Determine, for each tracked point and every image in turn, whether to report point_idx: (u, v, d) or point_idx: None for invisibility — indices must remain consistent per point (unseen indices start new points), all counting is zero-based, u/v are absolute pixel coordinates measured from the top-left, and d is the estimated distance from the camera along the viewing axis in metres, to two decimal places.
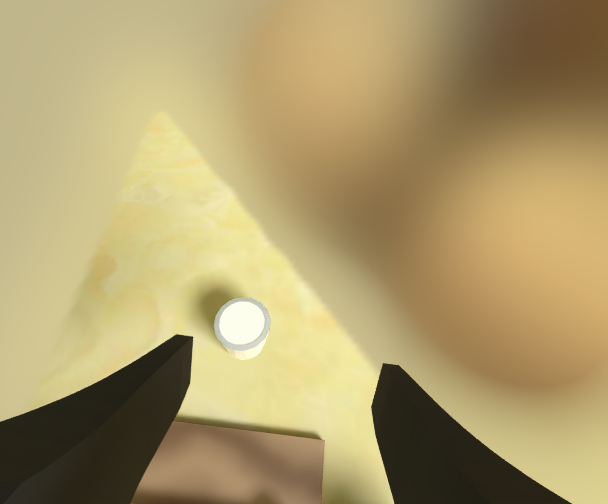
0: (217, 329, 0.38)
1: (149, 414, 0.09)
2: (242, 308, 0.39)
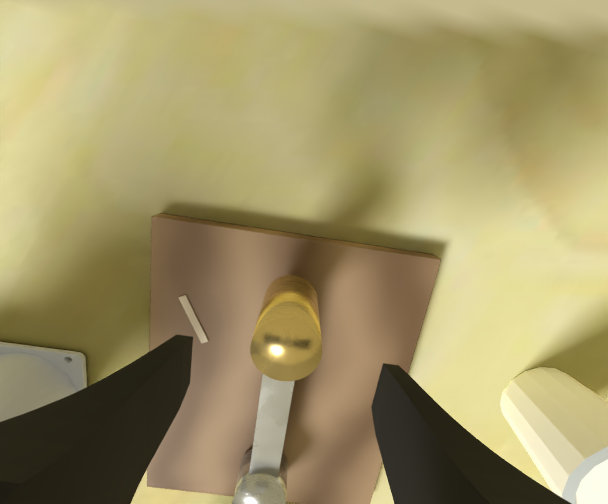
0: None
1: (149, 414, 0.09)
2: None
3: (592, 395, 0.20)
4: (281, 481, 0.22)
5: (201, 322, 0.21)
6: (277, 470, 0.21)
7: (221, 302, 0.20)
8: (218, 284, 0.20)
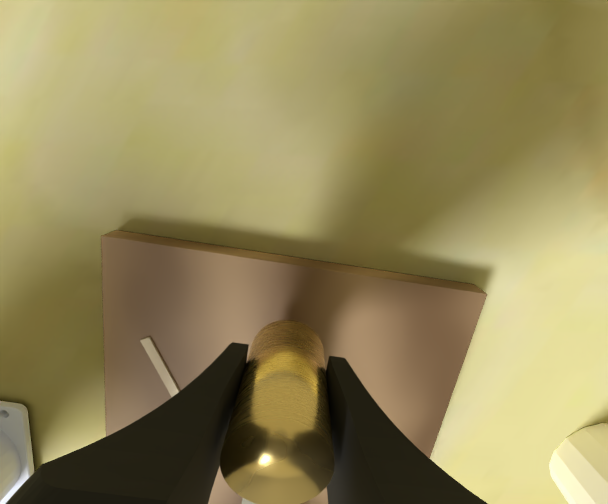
0: None
1: (222, 423, 0.09)
2: None
3: None
4: None
5: (171, 371, 0.16)
6: None
7: (197, 346, 0.16)
8: (192, 323, 0.15)
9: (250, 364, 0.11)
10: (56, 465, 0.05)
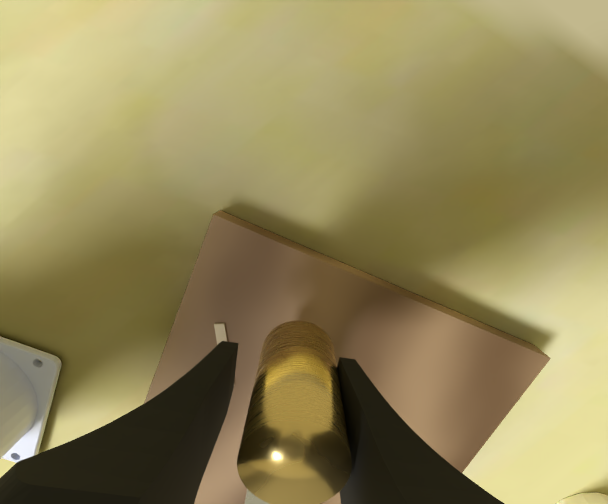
0: None
1: (209, 422, 0.09)
2: None
3: None
4: None
5: None
6: None
7: None
8: (271, 320, 0.15)
9: (264, 364, 0.11)
10: (31, 462, 0.05)
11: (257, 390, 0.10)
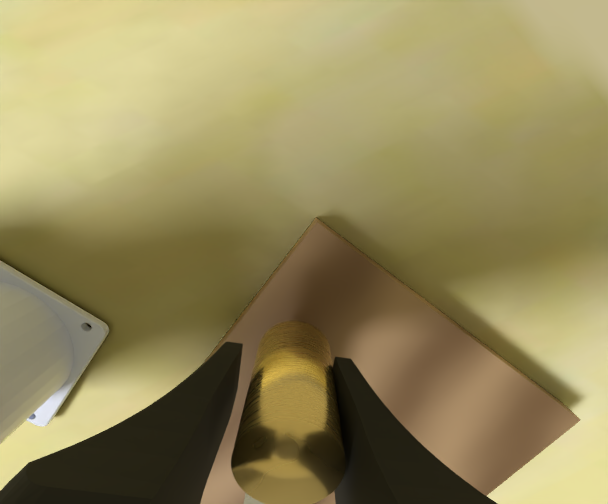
0: None
1: (214, 422, 0.09)
2: None
3: None
4: None
5: None
6: None
7: None
8: (339, 334, 0.15)
9: (259, 364, 0.11)
10: (42, 464, 0.05)
11: (252, 390, 0.10)
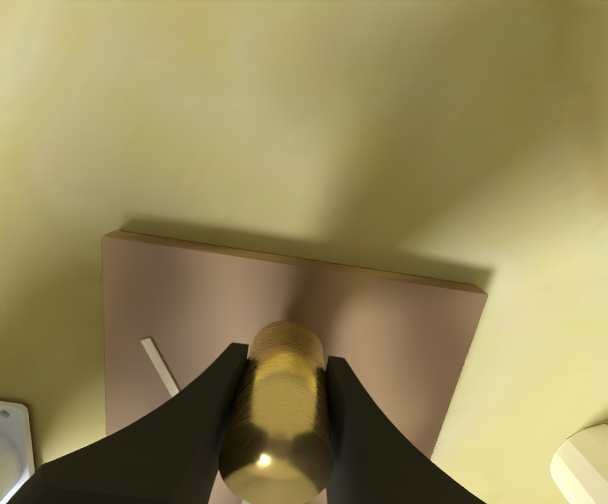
0: None
1: (222, 423, 0.09)
2: None
3: None
4: None
5: (171, 371, 0.16)
6: None
7: (197, 347, 0.16)
8: (193, 324, 0.15)
9: (249, 365, 0.11)
10: (56, 466, 0.05)
11: (240, 391, 0.10)
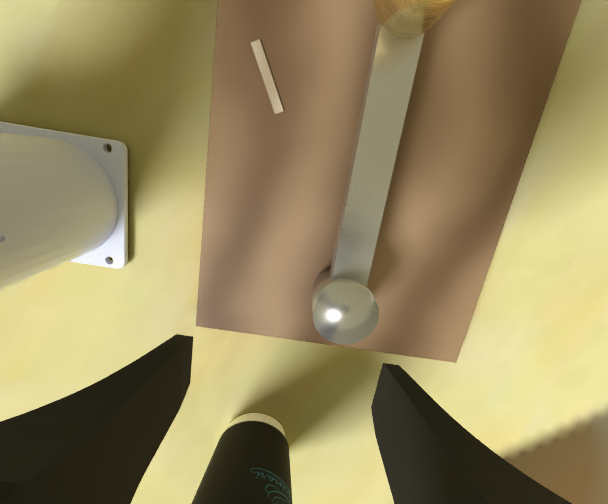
0: None
1: (149, 414, 0.09)
2: None
3: None
4: (370, 290, 0.18)
5: (276, 82, 0.17)
6: (367, 273, 0.17)
7: (303, 52, 0.16)
8: (301, 24, 0.16)
9: None
10: None
11: None
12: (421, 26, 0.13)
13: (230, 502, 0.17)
